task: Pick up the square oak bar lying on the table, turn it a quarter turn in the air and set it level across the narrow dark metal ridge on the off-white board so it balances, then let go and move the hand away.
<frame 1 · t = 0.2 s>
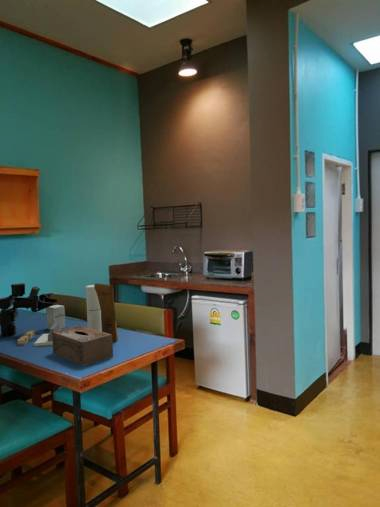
hand: (55, 302, 214), 16 cm above the table, tool horizontal, fingers open, 9 cm apart
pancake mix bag: (108, 338, 201), on the table
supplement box: (56, 328, 225), on the table
tissue box cover: (82, 355, 177), on the table
oak bar: (26, 340, 203), on the table
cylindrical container: (94, 332, 214), on the table
fulcrum stand: (55, 340, 200), on the table
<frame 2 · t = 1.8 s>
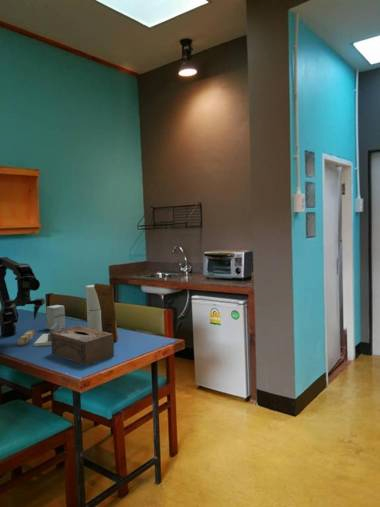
hand: (25, 319, 202), 11 cm above the table, tool pointing down, fingers open, 9 cm apart
nothing on the table moved.
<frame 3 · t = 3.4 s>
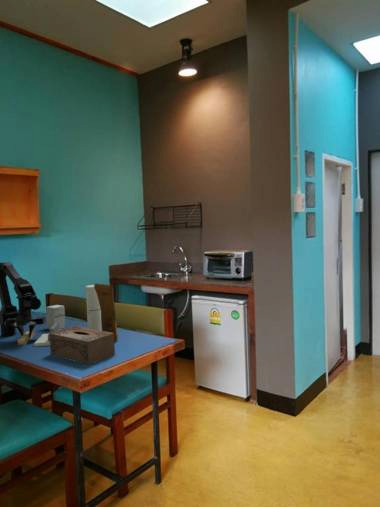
hand: (26, 337, 203), 1 cm above the table, tool pointing down, fingers closed on oak bar, 3 cm apart
oak bar: (26, 340, 203), on the table, touching gripper
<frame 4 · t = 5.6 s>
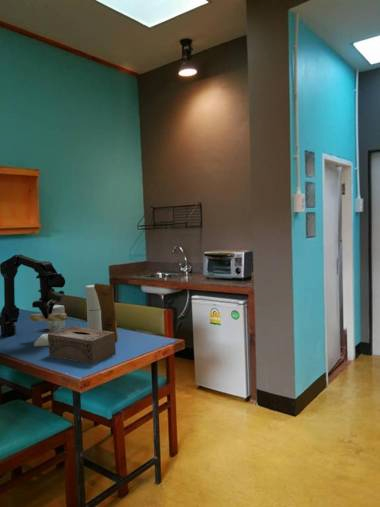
hand: (48, 317, 200), 12 cm above the table, tool pointing down, fingers closed on oak bar, 3 cm apart
oak bar: (48, 320, 200), point 10 cm above the table, touching gripper
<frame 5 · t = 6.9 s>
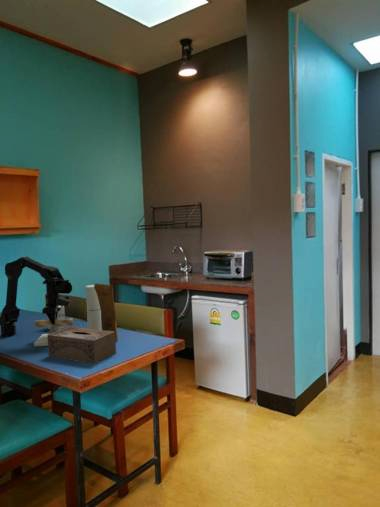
hand: (54, 323, 200), 9 cm above the table, tool pointing down, fingers closed on oak bar, 3 cm apart
oak bar: (54, 325, 200), point 7 cm above the table, touching fulcrum stand, gripper
when the fingers open (9 cm above the table, at t = 7.4 s): oak bar stays where it is, resting on fulcrum stand.
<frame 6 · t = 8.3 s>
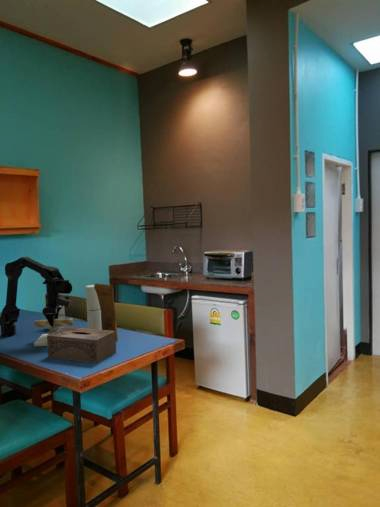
hand: (54, 323, 200), 9 cm above the table, tool pointing down, fingers open, 9 cm apart
oak bar: (54, 325, 200), point 7 cm above the table, touching fulcrum stand
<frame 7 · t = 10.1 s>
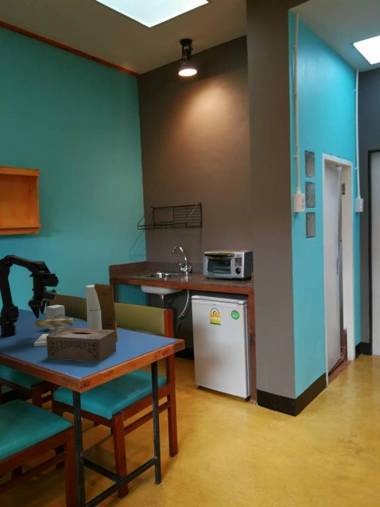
hand: (40, 316, 204), 12 cm above the table, tool pointing down, fingers open, 9 cm apart
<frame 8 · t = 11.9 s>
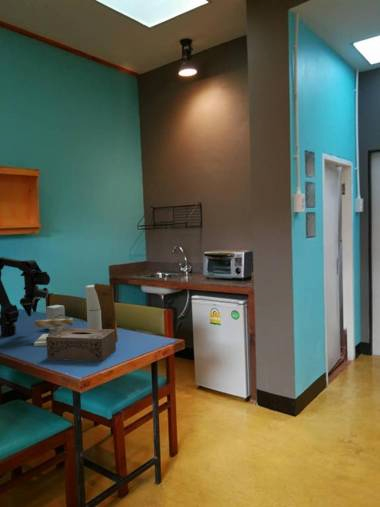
hand: (32, 314, 207), 12 cm above the table, tool pointing down, fingers open, 9 cm apart
at the end: oak bar 0.0 cm from the target spot, point 7.5 cm above the table; oak bar tilted 0°; the gripper is holding nothing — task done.
